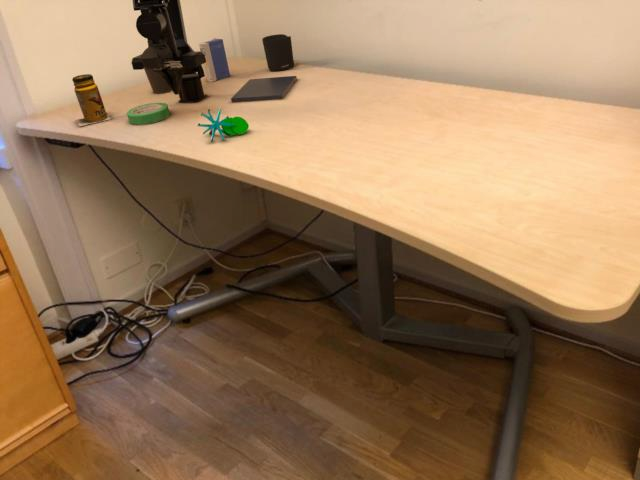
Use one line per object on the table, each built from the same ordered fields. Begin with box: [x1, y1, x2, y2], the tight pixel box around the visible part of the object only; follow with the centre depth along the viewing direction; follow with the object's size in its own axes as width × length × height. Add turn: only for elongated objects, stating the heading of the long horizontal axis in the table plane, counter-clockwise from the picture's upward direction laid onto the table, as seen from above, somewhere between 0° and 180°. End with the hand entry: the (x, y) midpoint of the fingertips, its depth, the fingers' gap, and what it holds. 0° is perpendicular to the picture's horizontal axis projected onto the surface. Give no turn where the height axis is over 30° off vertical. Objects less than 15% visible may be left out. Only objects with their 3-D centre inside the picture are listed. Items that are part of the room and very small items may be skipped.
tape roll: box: [126, 102, 171, 126], centre depth 160 cm, size 11×11×3 cm
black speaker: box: [261, 33, 295, 72], centre depth 195 cm, size 9×9×10 cm
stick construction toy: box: [197, 108, 250, 143], centre depth 141 cm, size 12×7×8 cm
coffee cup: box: [143, 67, 172, 95], centre depth 184 cm, size 8×8×10 cm
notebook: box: [230, 75, 298, 103], centre depth 174 cm, size 15×21×1 cm
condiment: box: [71, 73, 112, 127], centre depth 162 cm, size 7×8×12 cm
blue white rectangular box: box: [198, 37, 231, 83], centre depth 191 cm, size 8×3×12 cm, turn 141°
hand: (177, 94), depth 155 cm, fingers closed
